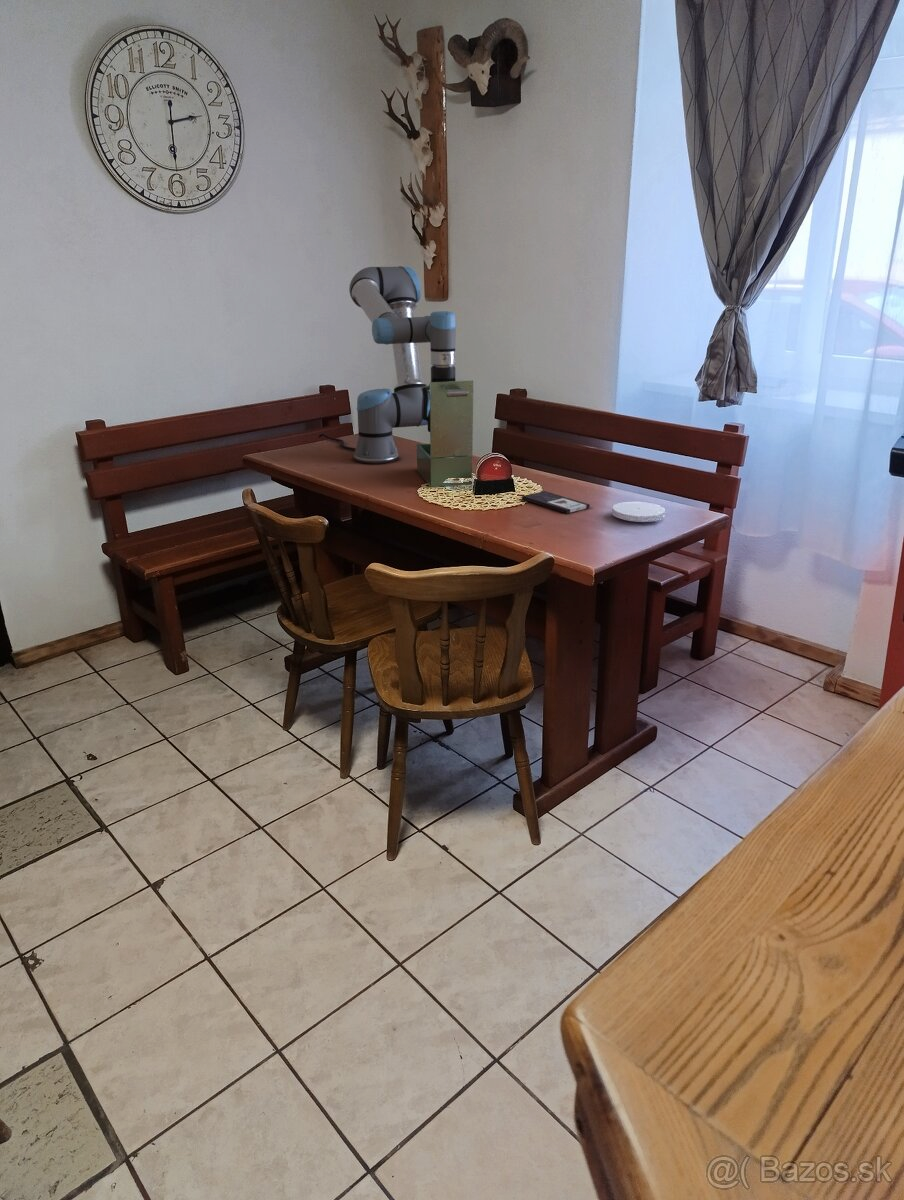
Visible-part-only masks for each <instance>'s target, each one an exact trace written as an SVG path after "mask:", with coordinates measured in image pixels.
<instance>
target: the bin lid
mask: <svg viewBox="0 0 904 1200" xmlns="http://www.w3.org/2000/svg"><path fill="white" fill-rule="evenodd" d="M429 384H430V432H429V438H430V439H429V442H430V443H429V444H430V457H431V458H436V457H454V456H472V457H473V447H474V446H473V442H474V441H473V440H474V439H473V437H474V435H473V434H474V380H456V381H446V382H431V381H430V382H429Z"/></svg>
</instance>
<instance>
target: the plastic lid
mask: <svg viewBox="0 0 904 1200" xmlns="http://www.w3.org/2000/svg"><path fill="white" fill-rule="evenodd" d="M666 512H667V510H666V508H665V507H663V506H662V505H659V504H657V503H652V502H646V501H622V502H618V503H615V504H613V505H612V508H611V514H612V515H613V517H615V518H618V519H621V520H624V521H629V522H635V523H636V522H637V523H651V522H658V521H661V520H663V519H665V517H666Z"/></svg>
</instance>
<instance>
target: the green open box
mask: <svg viewBox="0 0 904 1200" xmlns="http://www.w3.org/2000/svg"><path fill="white" fill-rule="evenodd" d="M416 471H417V473H419V474H420V476H421V477H422V478H423V479H424V481H425V482H426V484H427V485H429V486H430V487H431V488H437V487H438V488H439V487H440V488H441V487H454V486H471V485H473V455H472V456H454V457H436V458H431V457H430V443H417V444H416ZM448 478H471V479H472V481H469V482H463V483H443V482H444V481H445V480H446V479H448Z"/></svg>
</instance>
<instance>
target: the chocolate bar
mask: <svg viewBox="0 0 904 1200" xmlns="http://www.w3.org/2000/svg"><path fill="white" fill-rule="evenodd" d="M521 499H522V500H523V501H526V502H528V503H529V502H530V503H532V504H536V505H538V506H541V507H546V508H548V509H551V510H554V511H557V512H561V513H565V514H570V513H573V512H577V511H582V510H586V509H589V508H590V504H589V503H587V502H583V501H580V500H577V499H573V498H571V497H566V496H564V495H560V494H556V493H553V492H550V491H547V490H542V491H538V492H533V493H530V494H529V493H528V494H525V495H522V496H521Z"/></svg>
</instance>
